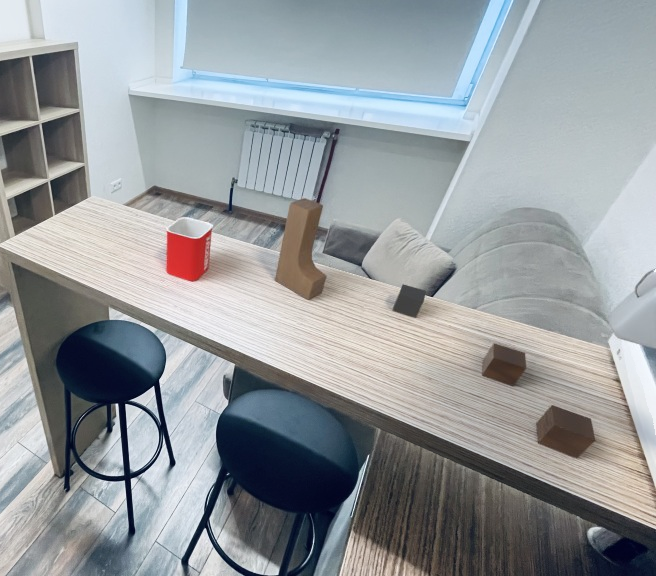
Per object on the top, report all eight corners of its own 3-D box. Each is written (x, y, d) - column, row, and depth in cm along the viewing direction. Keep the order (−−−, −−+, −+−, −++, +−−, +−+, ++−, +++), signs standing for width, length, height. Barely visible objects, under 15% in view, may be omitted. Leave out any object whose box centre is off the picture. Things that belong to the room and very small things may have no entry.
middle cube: (512, 370, 66) (525, 352, 63) (512, 386, 63) (526, 368, 61) (482, 360, 68) (493, 342, 65) (481, 375, 65) (493, 357, 63)
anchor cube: (418, 307, 80) (426, 290, 77) (415, 318, 77) (423, 301, 75) (395, 300, 81) (402, 284, 79) (392, 310, 79) (399, 294, 77)
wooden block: (322, 293, 84) (345, 212, 73) (308, 301, 82) (330, 219, 71) (287, 274, 90) (304, 197, 80) (273, 280, 88) (289, 202, 78)
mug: (195, 283, 87) (198, 240, 81) (162, 272, 91) (162, 230, 85) (219, 259, 96) (223, 217, 89) (188, 250, 99) (190, 209, 93)
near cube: (573, 436, 56) (591, 418, 53) (577, 458, 53) (596, 440, 51) (535, 422, 58) (551, 404, 55) (537, 443, 55) (554, 425, 53)
